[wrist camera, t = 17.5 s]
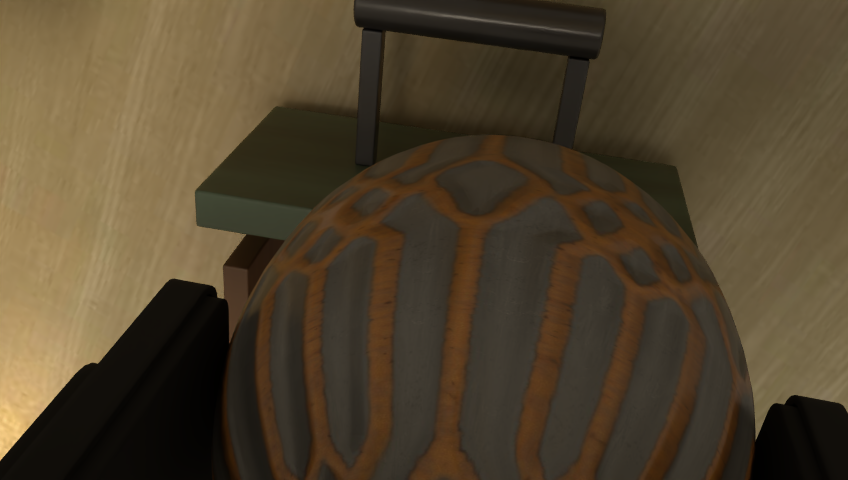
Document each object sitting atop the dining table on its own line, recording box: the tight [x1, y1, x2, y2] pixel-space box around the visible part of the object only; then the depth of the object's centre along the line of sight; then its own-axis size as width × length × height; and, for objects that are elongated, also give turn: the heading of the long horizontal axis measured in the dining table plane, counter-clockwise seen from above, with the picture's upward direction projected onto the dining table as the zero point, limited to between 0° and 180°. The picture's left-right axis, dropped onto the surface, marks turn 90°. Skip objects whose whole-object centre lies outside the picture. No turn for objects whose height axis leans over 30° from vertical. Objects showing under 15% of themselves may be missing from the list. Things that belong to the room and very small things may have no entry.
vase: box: [212, 135, 755, 480], centre depth 10 cm, size 7×7×9 cm
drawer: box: [195, 0, 698, 344], centre depth 28 cm, size 22×14×7 cm, turn 174°
